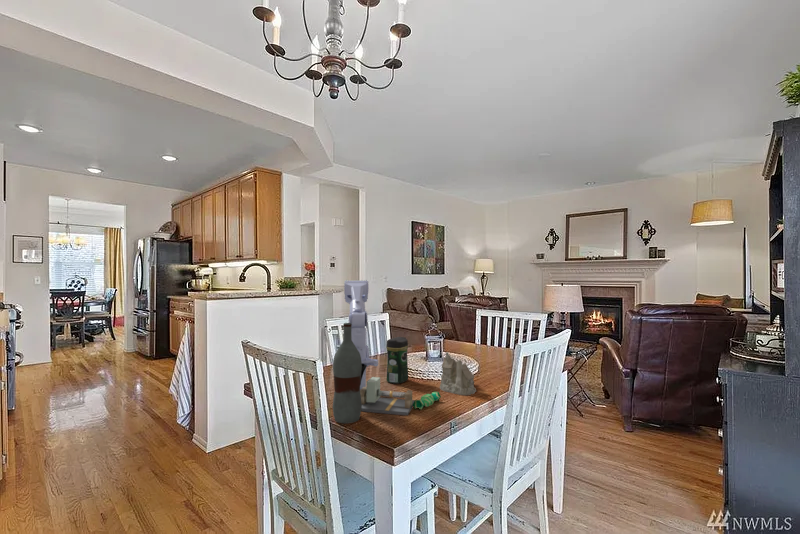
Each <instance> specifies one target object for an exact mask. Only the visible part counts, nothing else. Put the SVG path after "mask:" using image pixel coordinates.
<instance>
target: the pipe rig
mask: <svg viewBox="0 0 800 534" xmlns="http://www.w3.org/2000/svg"><path fill="white" fill-rule="evenodd" d="M360 394H361V402H362V408H361V412H364V413H373V414H375V413H376V414H388V415H396V416H397V415H398V416H406V415H407V416H409V414H410V412H411V411H412V409H413V408H414V406H413V403H414V401H415V400H416V399H415V400H414V399H413V390H411V389H407V390H406V392H402V391H391V390H381V389H380V390H377V396H380V398H379V399H378V400H377V401H376V402H375V403H373V402H367V386H366V387H363V388H362V389H361V390H360Z"/></svg>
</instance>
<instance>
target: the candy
mask: <svg viewBox="0 0 800 534" xmlns="http://www.w3.org/2000/svg"><path fill="white" fill-rule="evenodd" d="M441 397H442V396H441V394H440V392H439V391H432V392H431V393H426V394H423V395H421V397H420V399H415V401H414V403H413V408H414V410H417V409H416V408H419V409H420V410H419V409H418V410H419V411H421V410H422V409H424V408H428V407H429V406H433V404H434V402H438V401H440V400H441ZM424 406H425V407H424Z"/></svg>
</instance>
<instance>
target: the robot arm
mask: <svg viewBox="0 0 800 534" xmlns="http://www.w3.org/2000/svg"><path fill="white" fill-rule="evenodd" d="M343 284H344V285H343V288H344V289H343V290H344V291H343V293H344V301H345V303H347V304H349V314H348V323H351V324H352V325H351V335H352V342H353V343H354V345H355V347H356V348H357V350H358V351H359V353H360V356H361V362H362V369H361V381H360V390H361V389H362V388H363V387H367V367H369V366H370V367H371V366H373V367H378V366H379V359H374V358H371V357H370V347H369V346H368V345H367V328H368V321H369V320H368V318H369V317H368V312H367V310H366V303H367V302H368V297H369V281H368V280H367V279H365V280H362V279H361V280H357V279H356V280H349V279H346V280H344V283H343Z"/></svg>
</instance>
